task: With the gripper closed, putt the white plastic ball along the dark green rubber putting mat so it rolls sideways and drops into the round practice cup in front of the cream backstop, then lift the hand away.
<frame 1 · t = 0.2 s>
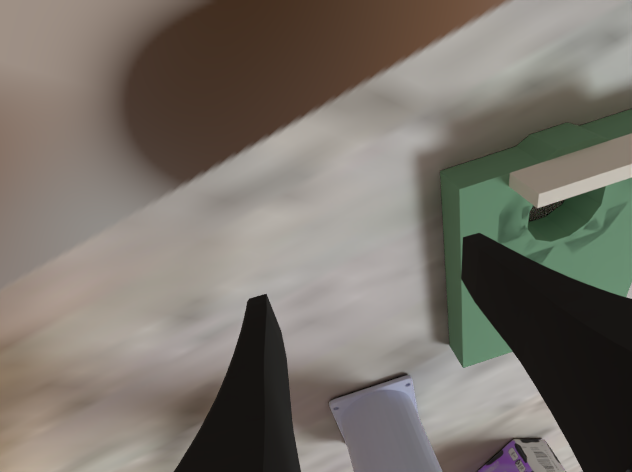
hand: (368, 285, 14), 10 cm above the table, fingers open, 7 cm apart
green: (533, 245, 29), on the table
candy box: (496, 463, 53), on the table
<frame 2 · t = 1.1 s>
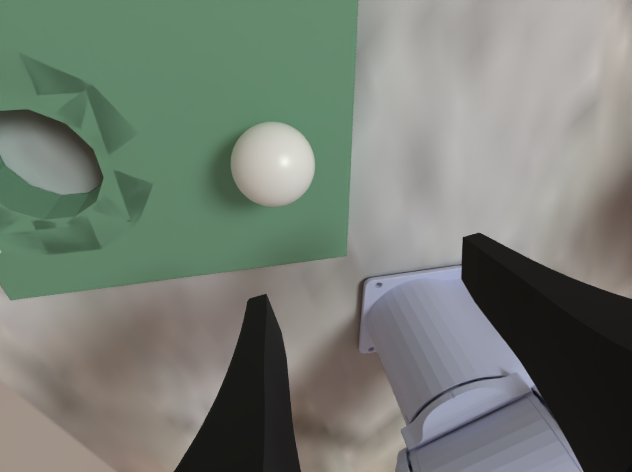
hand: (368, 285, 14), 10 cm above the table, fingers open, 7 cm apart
ball: (273, 165, 16), point 4 cm above the table, touching green
green: (164, 139, 19), on the table
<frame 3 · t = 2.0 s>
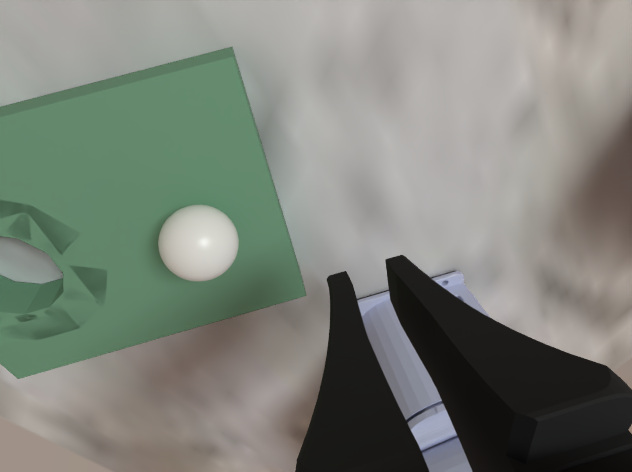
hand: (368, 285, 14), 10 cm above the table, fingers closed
ball: (199, 243, 18), point 4 cm above the table, touching green
green: (115, 223, 21), on the table
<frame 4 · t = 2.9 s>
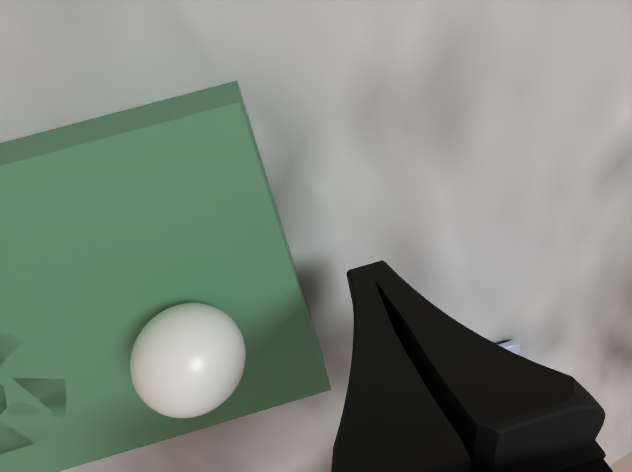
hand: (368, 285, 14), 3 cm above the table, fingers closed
ball: (190, 357, 13), point 4 cm above the table, touching green
green: (79, 309, 16), on the table
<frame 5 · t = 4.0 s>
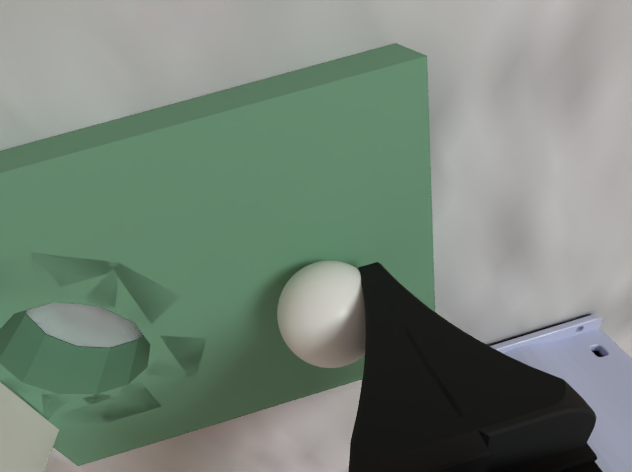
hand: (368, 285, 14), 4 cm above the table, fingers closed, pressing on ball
ball: (329, 312, 13), point 4 cm above the table, tilted 18°, touching green, gripper
green: (209, 274, 16), on the table
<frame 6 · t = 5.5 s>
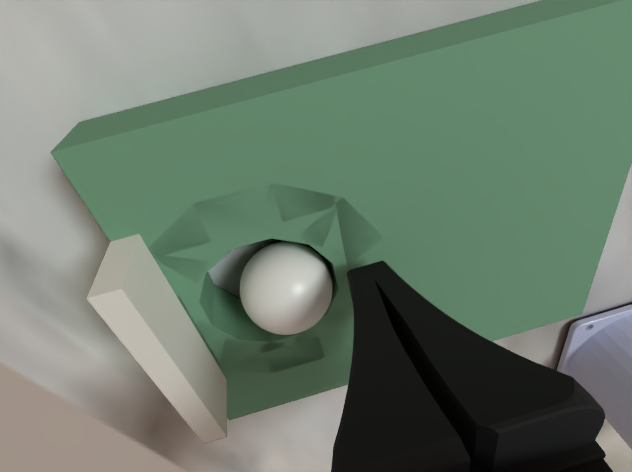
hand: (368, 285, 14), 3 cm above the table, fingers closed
ball: (286, 287, 15), point 2 cm above the table, tilted 54°
green: (378, 224, 16), on the table
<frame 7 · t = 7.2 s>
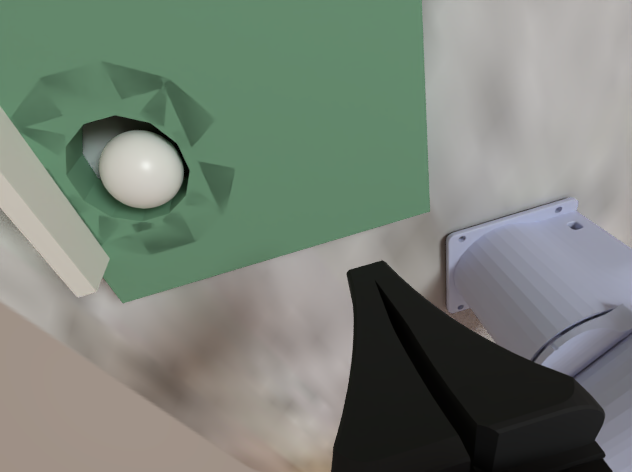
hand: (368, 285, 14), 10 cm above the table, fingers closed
ball: (143, 169, 18), point 2 cm above the table, tilted 48°
green: (235, 124, 19), on the table
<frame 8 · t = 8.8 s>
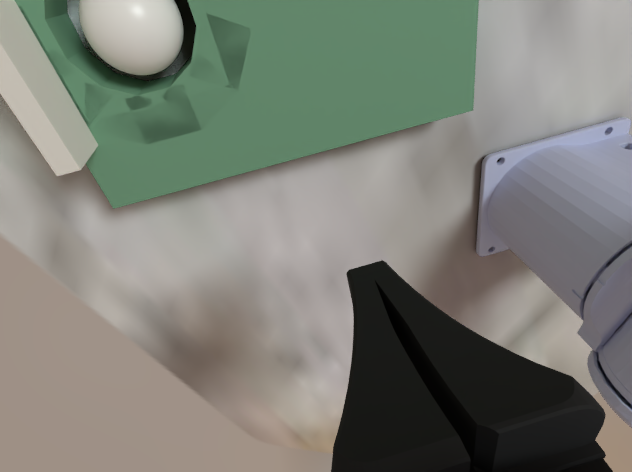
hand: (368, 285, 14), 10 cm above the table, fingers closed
ball: (133, 24, 15), point 2 cm above the table, tilted 41°
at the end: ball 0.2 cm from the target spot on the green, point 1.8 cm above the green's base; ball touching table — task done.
